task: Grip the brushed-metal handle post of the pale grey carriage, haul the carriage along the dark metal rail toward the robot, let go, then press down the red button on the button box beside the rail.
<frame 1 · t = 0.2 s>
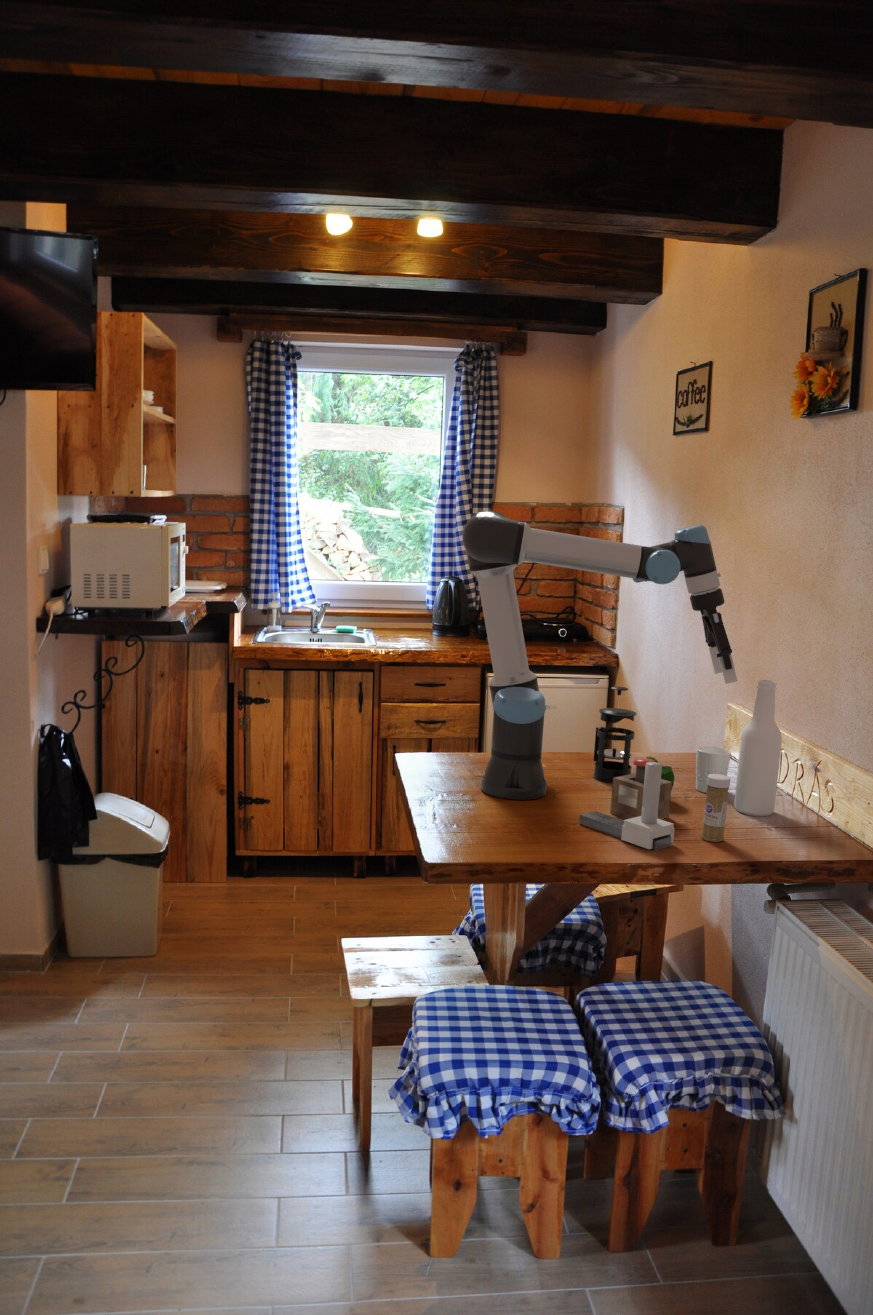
hand: (726, 677, 255), 28 cm above the table, tool tilted 20°, fingers open, 13 cm apart
alcohol: (753, 812, 244), on the table
carriage: (650, 802, 215), point 8 cm above the table, slide at 0.0 cm
sprinkles bottle: (712, 840, 221), on the table
button box: (639, 815, 235), on the table
red button: (642, 778, 234), point 8 cm above the table, slide at 0.0 cm
white cup: (709, 791, 259), on the table
french press: (610, 778, 266), on the table
rail: (623, 834, 221), on the table
bell pepper: (654, 800, 248), on the table
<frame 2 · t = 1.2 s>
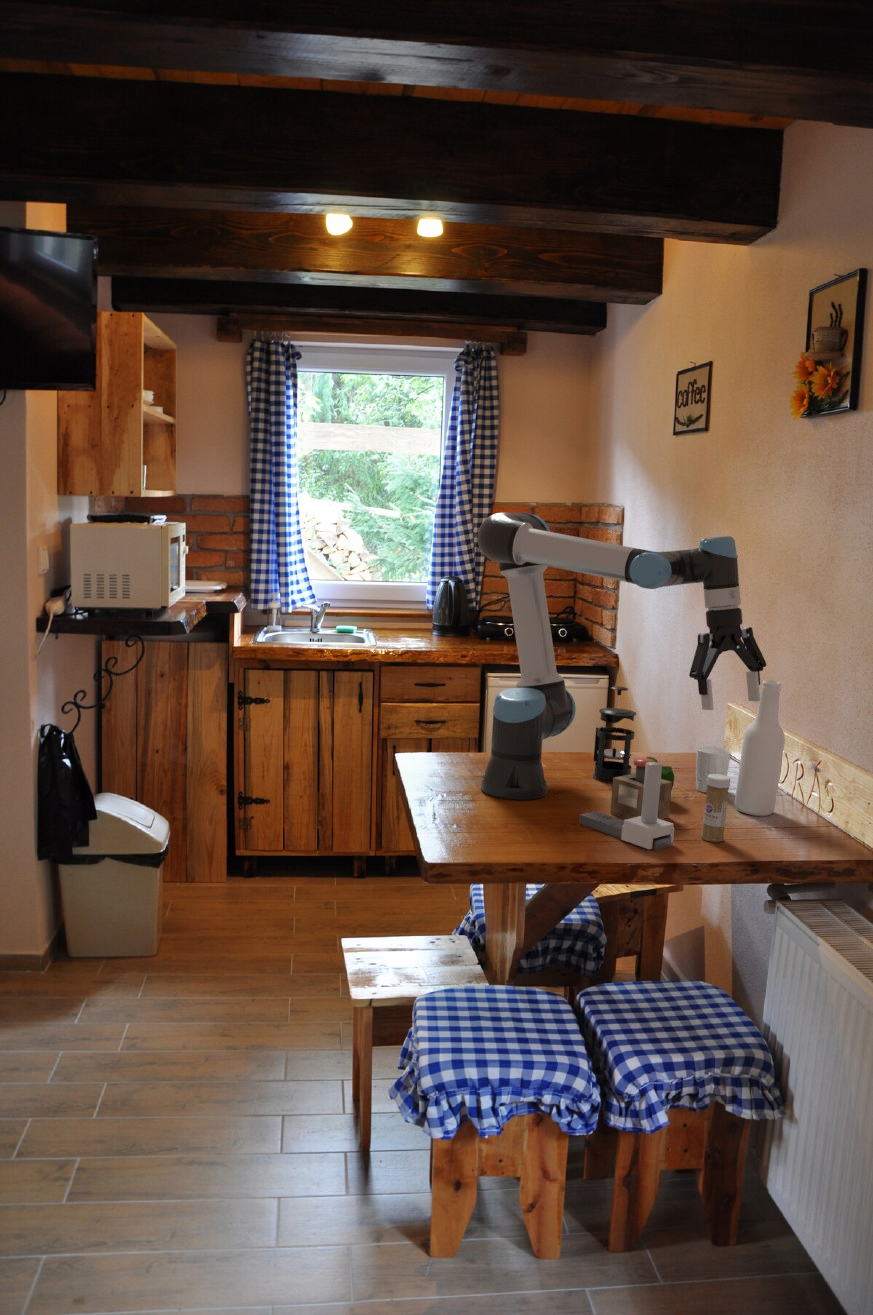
hand: (731, 705, 234), 25 cm above the table, tool pointing down, fingers open, 13 cm apart
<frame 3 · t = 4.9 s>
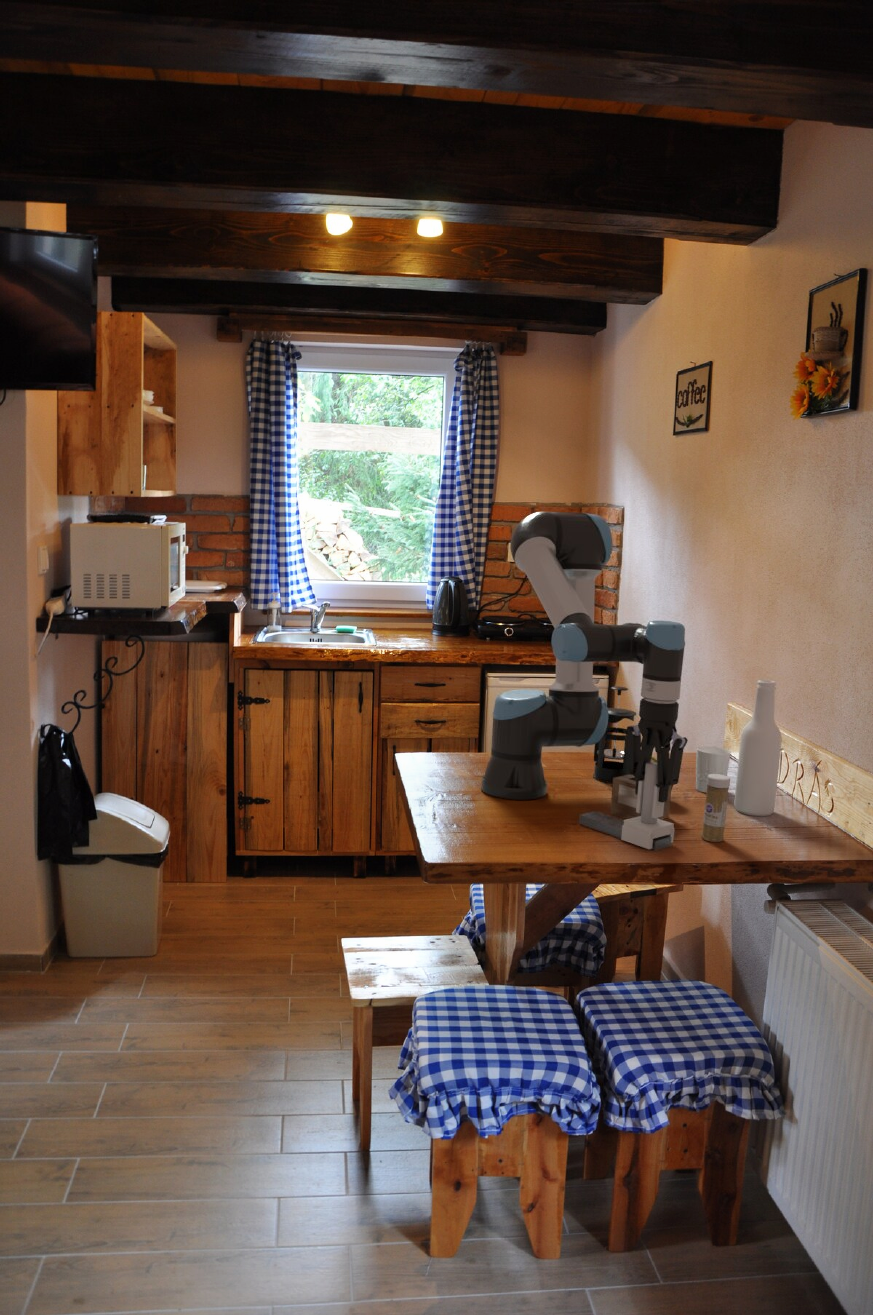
hand: (649, 814, 216), 6 cm above the table, tool pointing down, fingers closed on carriage, 3 cm apart
carriage: (650, 802, 215), point 8 cm above the table, slide at 0.0 cm, touching gripper
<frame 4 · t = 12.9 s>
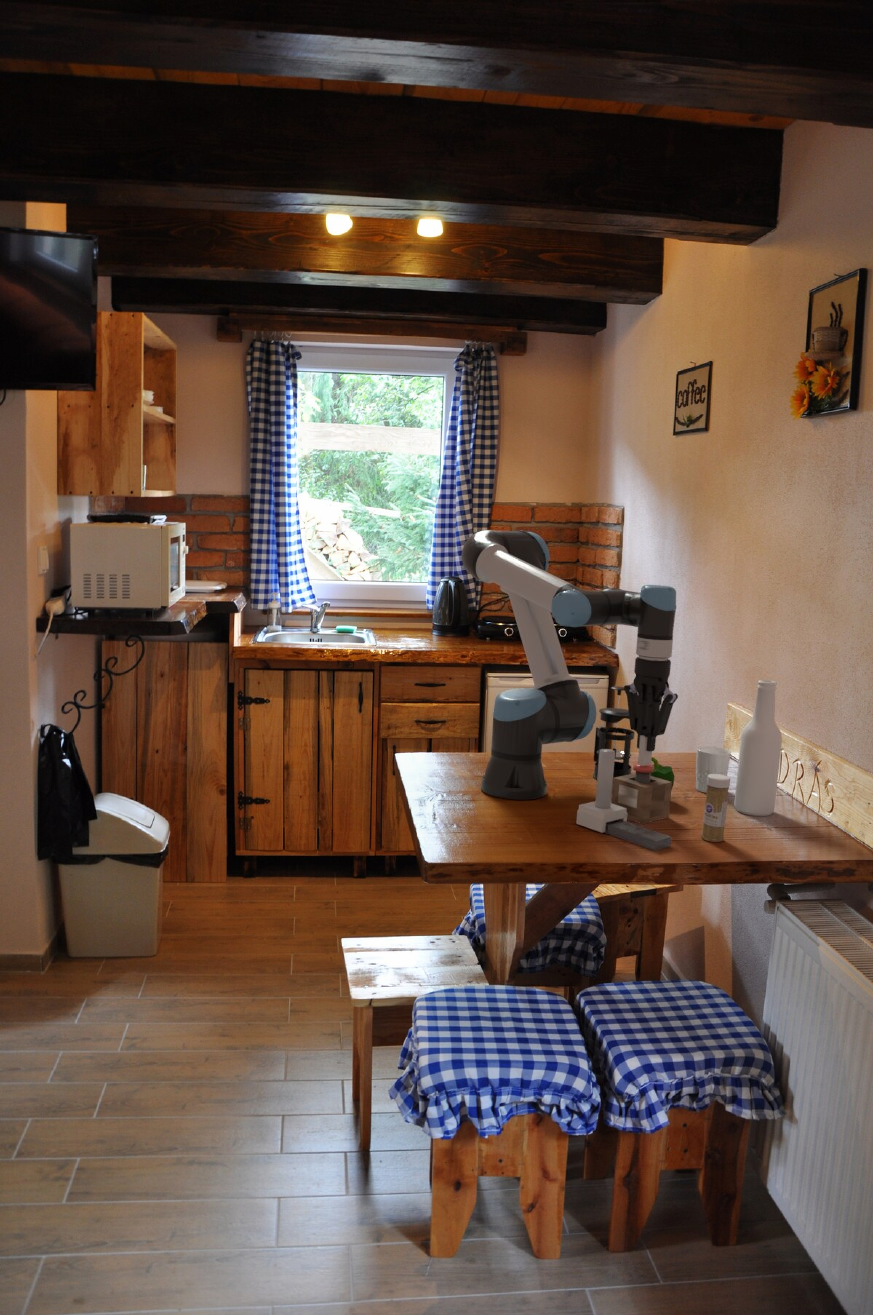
hand: (644, 764, 234), 11 cm above the table, tool pointing down, fingers closed
carriage: (604, 788, 224), point 8 cm above the table, slide at 12.0 cm
red button: (642, 783, 234), point 7 cm above the table, slide at 1.2 cm, touching gripper
everything else where it was.
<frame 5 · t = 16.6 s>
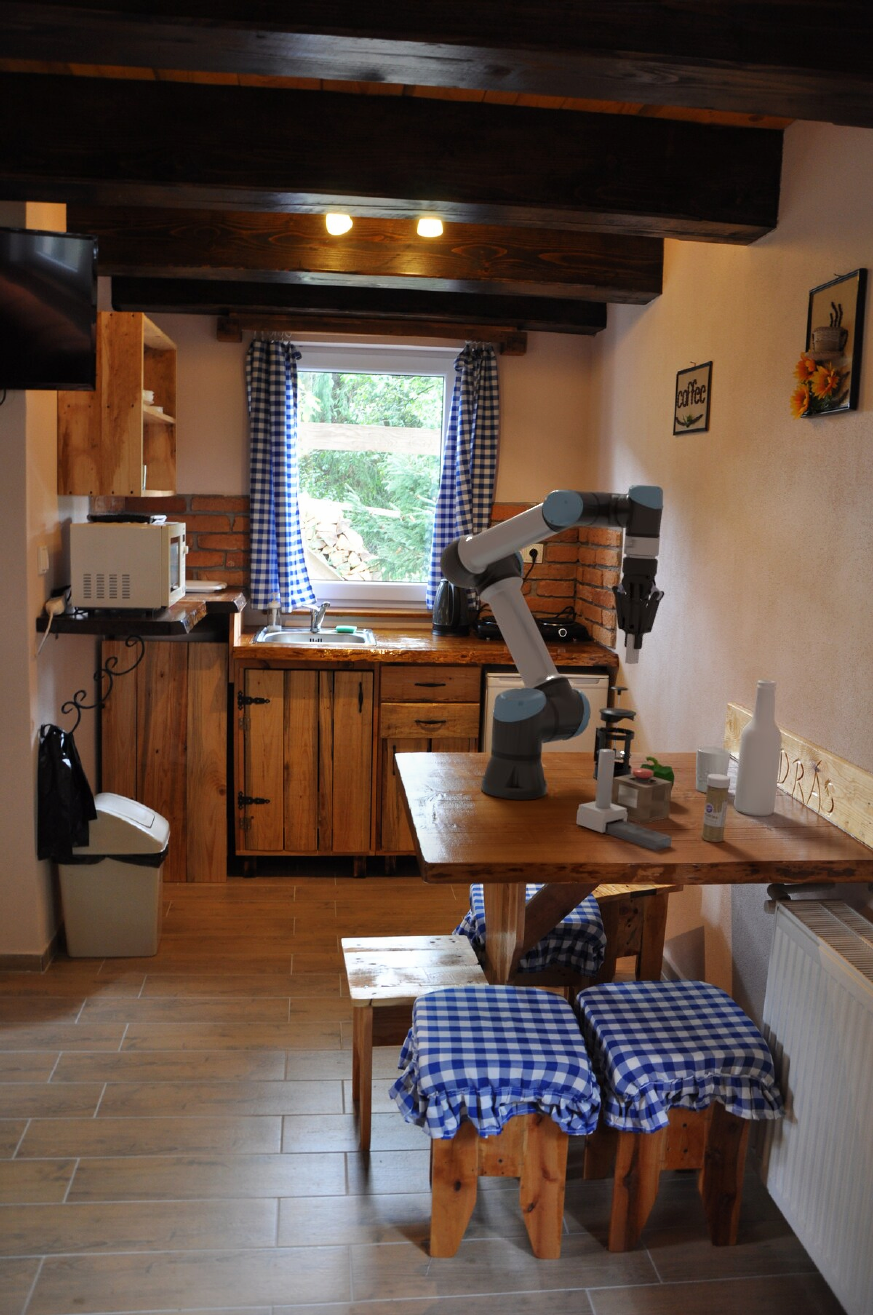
hand: (631, 663, 238), 32 cm above the table, tool pointing down, fingers closed
red button: (641, 788, 234), point 6 cm above the table, slide at 2.4 cm
everything else where it was.
at the end: carriage slide at 12.0 cm; red button slide at 2.4 cm; the gripper is holding nothing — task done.
